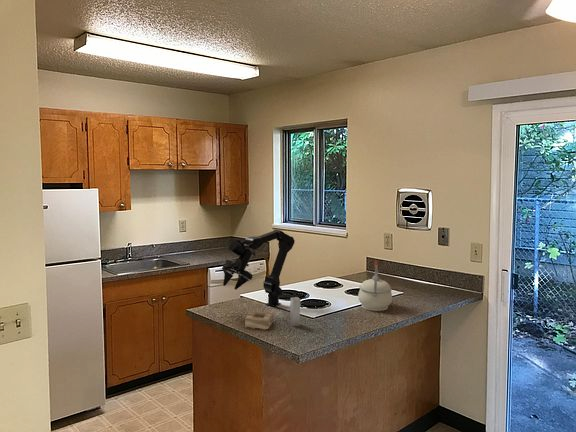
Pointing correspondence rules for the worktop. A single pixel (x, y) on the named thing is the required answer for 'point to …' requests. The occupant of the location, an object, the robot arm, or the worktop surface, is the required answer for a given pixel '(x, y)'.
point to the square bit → (295, 311)
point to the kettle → (375, 292)
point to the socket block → (259, 320)
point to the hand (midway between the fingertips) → (229, 287)
